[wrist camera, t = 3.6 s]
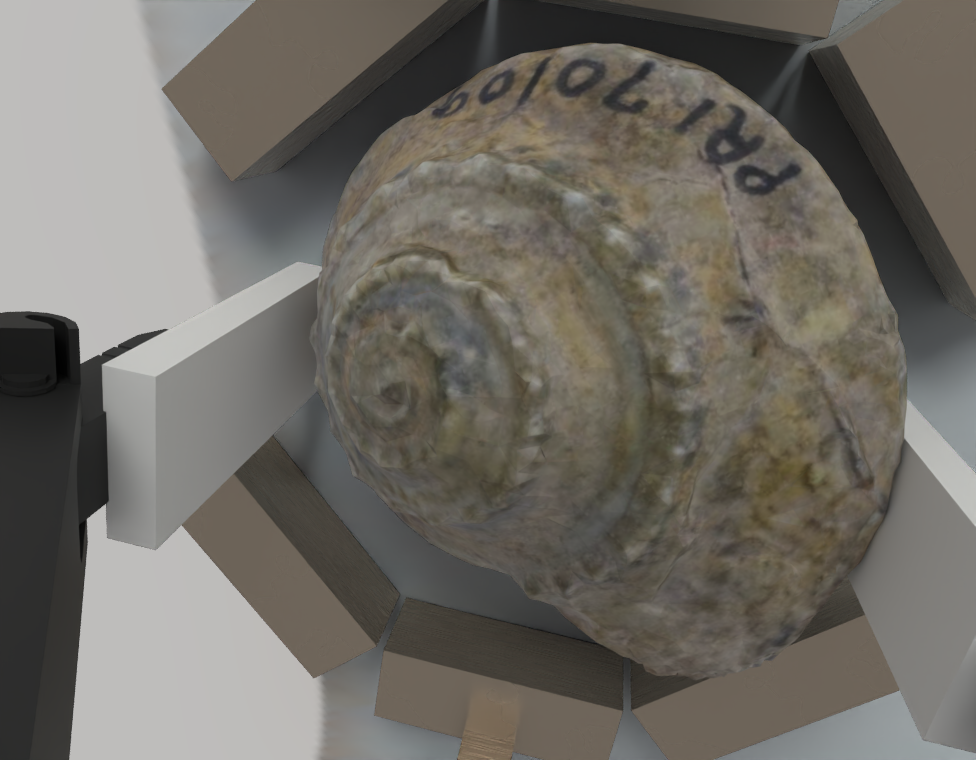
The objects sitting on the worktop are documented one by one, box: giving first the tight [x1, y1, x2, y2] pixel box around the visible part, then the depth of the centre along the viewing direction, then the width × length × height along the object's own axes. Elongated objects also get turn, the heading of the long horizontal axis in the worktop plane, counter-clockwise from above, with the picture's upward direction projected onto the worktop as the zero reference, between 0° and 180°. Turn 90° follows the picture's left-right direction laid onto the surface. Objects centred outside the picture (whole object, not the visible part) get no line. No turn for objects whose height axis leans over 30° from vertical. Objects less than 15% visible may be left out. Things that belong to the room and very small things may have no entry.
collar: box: [162, 0, 976, 760], centre depth 15 cm, size 20×17×3 cm
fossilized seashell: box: [309, 43, 907, 680], centre depth 14 cm, size 11×10×7 cm
